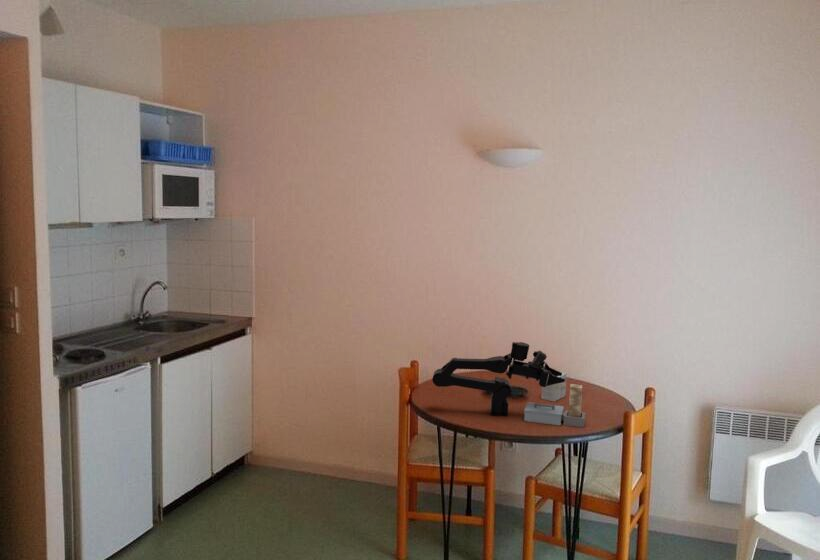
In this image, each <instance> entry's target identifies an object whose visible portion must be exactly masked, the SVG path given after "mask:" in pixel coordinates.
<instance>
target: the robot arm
mask: <svg viewBox="0 0 820 560" xmlns="http://www.w3.org/2000/svg"><path fill="white" fill-rule="evenodd" d="M529 349H530V344H529V343H526V342H522V341H516V342H515V341H512V343H511V350H510V353H507V354H506V355H503V356H502V355H497V356H492V357H488V358H457V357H453V358H451V359H450V360H449V361H448V362H447V363H446V364H444V365H443V366H442V367H441V368H437V369H436V370H434V372H433V375H432V380H431V381H432V383H433V384H434V386H435V387H441V388H443V387H444V388H445V387H447V388H448V387H452V386H456V387H460V388H461V387H462V388H468V389H474V390H479V391H485V392H489V393H491V397H490V408H489V413H490V415H491V416H503V417H504V416H505V417H507V416H508V412H509V402H508V397H510V396H511V394H512V392H513V391H512V384H511V382H510V381H509V380H511V379H512V376H518V377H524V378H525V379H526V380H529V379H535V381H537V382H538V385H539V386H540V387H541V388H542V387H546V386H549V385H553V384H557V383H562V382H564V381H565V379H563V378H560V377H558V376H562V373H561V372H562V371H559V370H556V369H555V368H553V367H550V366H549V364H548V363H547V361H545V360H546V359H547V357H548V356H547V354H546V353H545V352H543V351H542V350H536V351H533V354H532V355H533V359H532V361H531V360H530V361H527V362H525V360H528V354H529ZM456 370H480V371H481V370H484V371H489V372H491V373H497V374H504V373H505V375H506V376H507V378H508V379H509V380H508V379H506V378H505V377H499V376H494V379H491V380H490V379H484V378H483V379H482V378H477V377H472V376H471V377H470V376H465V375H460V374H459V375H458V374H455V373H454V372H455V371H456Z"/></svg>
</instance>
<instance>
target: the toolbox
mask: <svg viewBox="0 0 820 560" xmlns="http://www.w3.org/2000/svg"><path fill="white" fill-rule="evenodd" d="M564 410H565V411H564ZM523 413H524V414H523V415H524V418H523V420H524V422H529V423H537V424H545V425H554V426H561V424H562V422H563V426H570V427H577V428H584V426H585V422H586V412H584V411H581V417H573V416H568V414H569V409H568V410H567V409H565V406H562V405H556V404H555V405H554V404H546V403H539V402H530V401H528V402H526V405H525V408H524V410H523Z"/></svg>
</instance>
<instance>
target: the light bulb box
mask: <svg viewBox="0 0 820 560" xmlns="http://www.w3.org/2000/svg"><path fill="white" fill-rule="evenodd" d="M560 372H561V373H562V376H558V377H560V378H563V379H565V381H564V382H562V383H557V384H553V385H549V386H546V387H541V400H542V399H543V400H546V401H550V402H556V401H558V400H561V399H563V398H564V397H566V389H567V388H566V387H567V373H566V372H562V371H560Z"/></svg>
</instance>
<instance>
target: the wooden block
mask: <svg viewBox="0 0 820 560" xmlns="http://www.w3.org/2000/svg"><path fill="white" fill-rule="evenodd" d="M582 398H583V385H582V384H578V383H577V384H575V383H570V386H569V398H568V399H569V400H568V411H569V414H568V416H573V417H581V412H582V401H583V400H582Z"/></svg>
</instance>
